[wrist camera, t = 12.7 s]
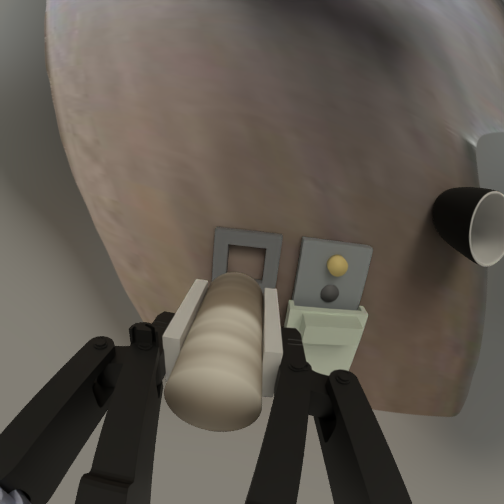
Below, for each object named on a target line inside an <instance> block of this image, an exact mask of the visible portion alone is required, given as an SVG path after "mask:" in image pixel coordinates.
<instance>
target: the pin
mask: <svg viewBox="0 0 504 504" xmlns="http://www.w3.org/2000/svg"><path fill="white" fill-rule="evenodd" d="M262 354H263V292H262V289H261V287H260V286H259V284H258V283H257V282H256V281H255V280H254V279H253V278H251V277H250V276H248V275H246V274H243V273H239V272H229V273H225V274H222V275H220V276H218V277H217V278H216V279H214V280H213V282H212V283H211V284H210V286H209V288H208V290H207V293H206V295H205V297H204V299H203V301H202V304H201V306H200V308H199V310H198V313H197V315H196V317H195V319H194V321H193V324H192V326H191V328H190V330H189V333H188V335H187V337H186V340H185V342H184V344H183V346H182V349H181V351H180V353H179V356H178V358H177V360H176V362H175V365H174V367H173V369H172V372H171V374H170V376H169V379H168V381H167V383H166V386H165V390H164V396H165V400H166V402H167V404H168V406H169V407H170V409H171V410H172V411H173V413H175V414H176V415H177V416H178V417H179V418H180V419H182V420H183V421H185V422H187V423H189V424H191V425H193V426H195V427H198V428H201V429H205V430H209V431H217V432H227V431H234V430H239V429H242V428H245V427H247V426H249V425H251V424H252V423H253V422H255V421H256V420H257V418H258V417H259V415H260V413H261V410H262V372H263V366H262Z"/></svg>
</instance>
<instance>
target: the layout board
mask: <svg viewBox="0 0 504 504" xmlns="http://www.w3.org/2000/svg"><path fill="white" fill-rule="evenodd" d="M372 252H373V248H372V247H371V246H369V245H363V244H356V243H349V242H341V241H334V240H326V239H318V238H310V237H302V242H301V248H300V254H299V260H298V266H297V272H296V278H295V284H294V289H293V295H292V300H294V306H305V307H316V308H329V309H342V310H358V307H359V303H360V300H361V296H362V292H363V289H364V285H365V281H366V277H367V273H368V269H369V265H370V261H371V256H372Z"/></svg>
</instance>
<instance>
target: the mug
mask: <svg viewBox="0 0 504 504" xmlns="http://www.w3.org/2000/svg"><path fill="white" fill-rule="evenodd" d="M433 222H434V226H435V228H436V230H437V232H438V233H439V235H440V236H441V237H442V238H443V239H444V240H445V241H446V242H447V243H448V244H450V245H451V246H452V247H453V248H455V249H456V250H457V251H459V252H460V253H461V254H463V255H464V256H465V257H467V258H468V259H470V260H471V261H473V262H475V263H476V264H478V265H480V266H484V267H488V266H492V265H493V264H495V263H497V262H498V261H499V260H500V259H501V257H502V256H503V255H504V195H503V194H502V193H500V192H498V191H495V190H491V189H484V188H473V187H461V188H453V189H449V190H447V191H445V192H443V193H442V194H441V195H440V196H439V197H438V198H437V200H436V202H435V204H434V207H433Z"/></svg>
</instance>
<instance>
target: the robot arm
mask: <svg viewBox="0 0 504 504" xmlns="http://www.w3.org/2000/svg"><path fill="white" fill-rule="evenodd" d="M207 290H208V280H201V279H196V280H195V282H194V283H193V285H192V287H191V288H190V290H189V292H188V293H187V295H186V297H185V298H184V300H183V302H182V303H181V305H180V307H179V309H178V310H177V312H176V313H170V312H165V311H164V312H163V313H161V314H159V315H158V316H157V317H156V319H155V320H154V322H153V323H152V324H151V323H147V322H140V323H136V324H134V325H132V326H131V327H130V328H129V334H130V341H131V345H130V346H114V342H113V340H112V339H110V338H108V337H104V336H100V337H95V338H93V339H91V340H90V341H88V342H87V343H86V344H85V346H83V347H82V348H81V349H80V350H79V351H78V352H77V353H76V354H75V355H74V356H73V357H72V358H71V359H70V360H69V361H68V362H67V363H66V364H65V365H64V366H63V367H62V368H61V369H60V370H59V371H58V372H57V373H56V374H55V375H54V376H53V378H51V379H50V381H49V382H48V383H47V384H46V385H45V386H44V387H43V388H42V389H41V390H40V391H39V392H38V393H37V394H36V395H35V396H34V397H33V398H32V400H31V401H30V402H29V403H28V404H27V405H26V406H25V407H24V408H23V409H22V410H21V412H20V413H19V414H18V415H17V416H16V417H15V418H14V420H12V422H11V423H10V424H9V425H8V426H7V427H6V428H5V430H4V431H3V432H2V433H1V434H0V504H46V503H47V502H48V501H49V499H50V498H51V496H52V495H53V494H54V492H55V490H56V488H57V487H58V485H59V484H60V482H61V481H62V479H63V477H64V476H65V474H66V473H67V471H68V469H69V468H70V466H71V465H72V463H73V461H74V460H75V459H76V457H77V455H78V454H79V452H80V451H81V449H82V448H83V446H84V445H85V443H86V442H87V440H88V438H89V437H90V435H91V434H92V432H93V431H94V429H95V428H96V426H97V425H98V423H99V422H100V420H101V419H102V417H103V416H104V414H105V413H106V411H107V410H108V411H107V414H106V417H105V420H104V424H103V427H102V430H101V434H100V438H99V441H98V445H97V448H96V452H95V456H94V460H93V464H92V468H91V471H90V472H89V473H87V474H84V475H83V476H82V477H81V480H80V483H79V488H78V492H77V496H76V501H75V504H150V497H151V484H152V472H153V461H154V452H155V442H156V434H157V426H158V418H159V411H160V404H161V398H162V391H163V384H162V379H163V378H164V376H165V377H166V382H167V381H168V379H169V376H170V374H171V372H172V369H173V367H174V365H175V362H176V360H177V358H178V356H179V353H180V351H181V349H182V346H183V344H184V342H185V340H186V337H187V335H188V333H189V330H190V328H191V326H192V324H193V321H194V319H195V317H196V315H197V313H198V310H199V308H200V306H201V304H202V301H203V299H204V297H205V295H206V293H207ZM262 366H263V372H262V396H263V397H273V394H274V400H273V404H272V408H271V412H270V416H269V420H268V424H267V428H266V432H265V435H264V439H263V443H262V447H261V450H260V454H259V457H258V461H257V464H256V468H255V472H254V475H253V478H252V482H251V485H250V488H249V491H248V495H247V498H246V501H245V504H296V502H297V496H298V490H299V484H300V477H301V471H302V464H303V457H304V449H305V440H306V432H307V423H308V415H312V416H314V420H315V424H316V429H317V432H318V436H319V441H320V445H321V449H322V453H323V457H324V462H325V465H326V470H327V474H328V479H329V483H330V488H331V492H332V496H333V501H334V504H412V502H411V500H410V497H409V494H408V492H407V489H406V487H405V484H404V482H403V479H402V477H401V474H400V472H399V470H398V467H397V465H396V463H395V460H394V458H393V455H392V453H391V451H390V449H389V446H388V444H387V442H386V439H385V437H384V435H383V433H382V430H381V428H380V426H379V424H378V422H377V420H376V417H375V415H374V413H373V411H372V408H371V406H370V404H369V402H368V400H367V398H366V396H365V393H364V391H363V389H362V387H361V385H360V383H359V381H358V379H357V377H356V376H355V375H354V374H353V373H351V372H350V371H347V370H341V369H339V370H334V371H332V372H331V373H330V375H329V376H328V375H324V374H320V373H317V372H315V371H313V370H312V367H311V365H310V364H309V363H308V362H306V357H305V352H304V347H303V342H302V337H301V333H300V332H299V331H298V330H297V329H296V328H287V327H281V326H280V315H279V305H278V295H277V289H272V288H265V289H264V296H263V354H262Z"/></svg>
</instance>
